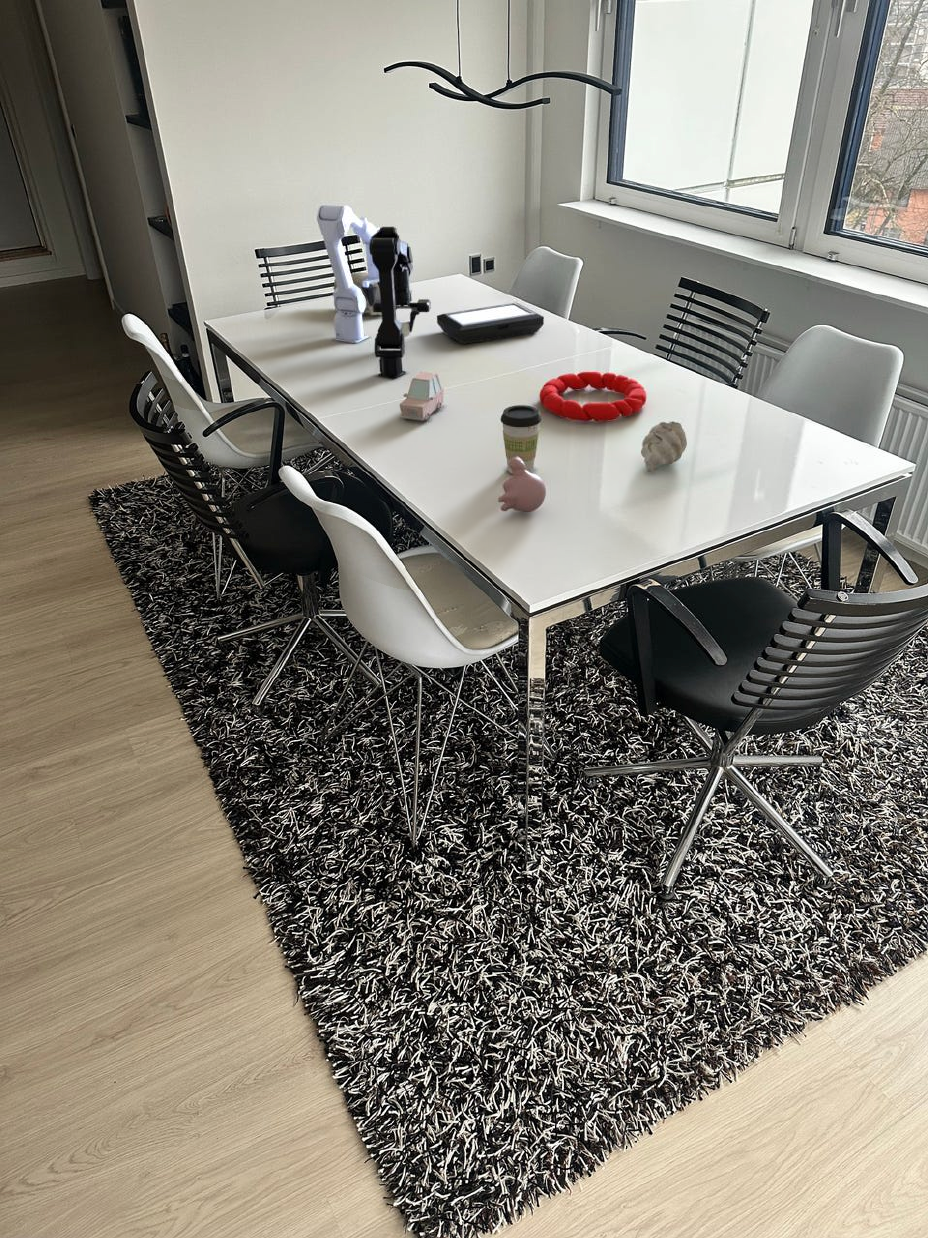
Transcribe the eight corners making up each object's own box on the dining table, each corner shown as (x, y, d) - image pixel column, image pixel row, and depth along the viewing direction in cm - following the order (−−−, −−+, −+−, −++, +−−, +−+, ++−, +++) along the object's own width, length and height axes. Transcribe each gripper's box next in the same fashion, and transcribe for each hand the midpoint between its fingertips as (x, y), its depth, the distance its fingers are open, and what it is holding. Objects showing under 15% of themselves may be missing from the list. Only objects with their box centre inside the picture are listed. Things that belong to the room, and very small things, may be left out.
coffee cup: (511, 481, 215) (511, 422, 206) (494, 465, 222) (493, 408, 214) (547, 473, 218) (549, 414, 209) (529, 458, 225) (530, 401, 217)
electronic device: (459, 327, 297) (436, 313, 313) (460, 346, 301) (437, 331, 316) (543, 314, 308) (517, 300, 323) (543, 332, 311) (517, 318, 326)
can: (394, 334, 301) (393, 322, 298) (404, 331, 303) (403, 318, 301) (403, 337, 298) (402, 324, 295) (413, 334, 300) (412, 321, 298)
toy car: (396, 421, 248) (393, 386, 242) (418, 402, 260) (416, 368, 254) (427, 425, 245) (425, 390, 239) (448, 405, 257) (447, 371, 251)
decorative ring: (525, 401, 245) (634, 402, 234) (555, 365, 268) (655, 365, 258) (527, 426, 249) (634, 428, 238) (556, 389, 272) (655, 390, 261)
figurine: (490, 509, 203) (489, 460, 196) (532, 497, 207) (532, 449, 201) (510, 525, 197) (510, 475, 190) (552, 512, 201) (554, 463, 194)
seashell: (697, 464, 220) (702, 426, 214) (648, 478, 214) (652, 439, 208) (671, 449, 227) (675, 412, 222) (623, 462, 222) (626, 424, 216)
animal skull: (363, 342, 338) (386, 304, 323) (318, 293, 338) (340, 252, 323) (389, 330, 349) (414, 293, 335) (347, 283, 350) (369, 244, 335)
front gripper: (431, 277, 297) (434, 324, 306) (376, 277, 299) (380, 324, 307) (427, 286, 288) (430, 334, 297) (370, 286, 289) (374, 334, 298)
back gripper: (372, 269, 307) (376, 309, 315) (395, 260, 317) (398, 299, 325) (356, 267, 310) (359, 307, 318) (379, 258, 320) (382, 297, 328)
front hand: (403, 331), depth 300 cm, fingers closed on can, 5 cm apart
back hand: (378, 303), depth 322 cm, fingers open, 7 cm apart
